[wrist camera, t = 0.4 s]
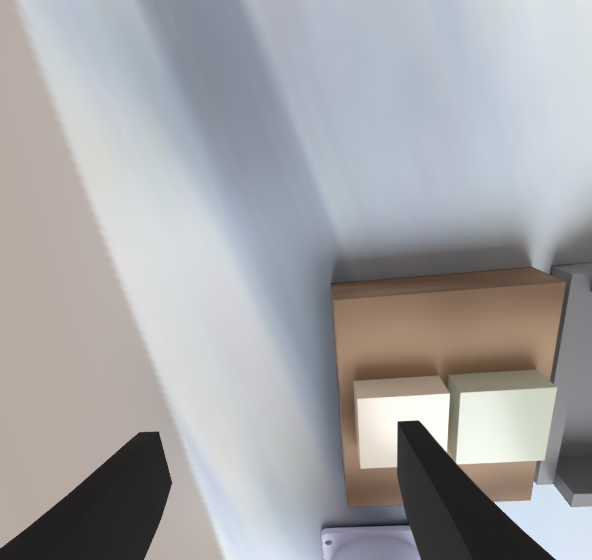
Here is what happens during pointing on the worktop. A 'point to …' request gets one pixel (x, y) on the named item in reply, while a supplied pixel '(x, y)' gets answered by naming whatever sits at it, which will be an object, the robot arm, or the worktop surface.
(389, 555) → the robot arm
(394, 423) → the cream tile
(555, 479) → the tray
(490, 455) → the sage tile
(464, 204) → the worktop surface
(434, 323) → the walnut board
